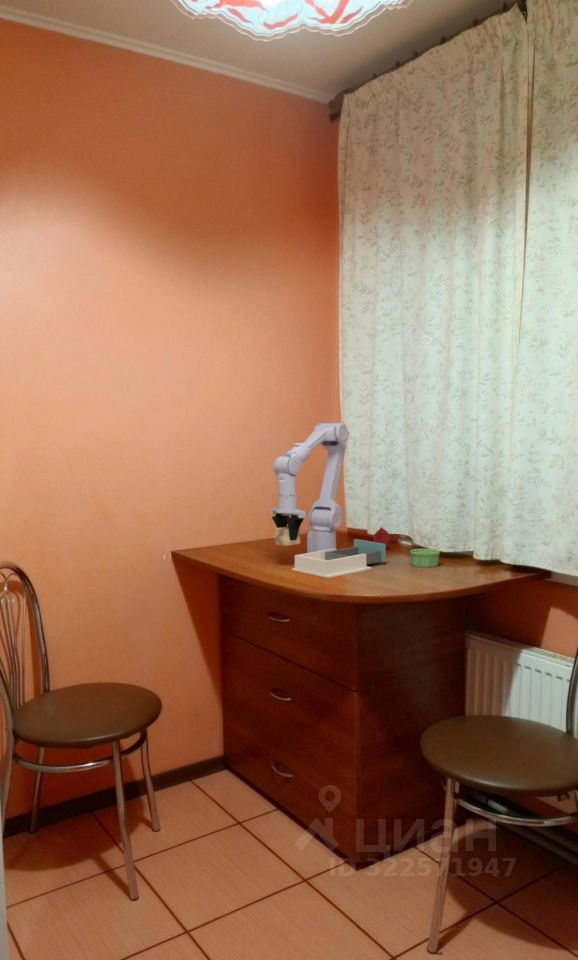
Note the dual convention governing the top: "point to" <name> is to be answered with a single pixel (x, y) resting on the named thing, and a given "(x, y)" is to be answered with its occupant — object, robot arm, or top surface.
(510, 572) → the top surface
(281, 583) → the top surface
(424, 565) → the ramekin
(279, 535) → the block
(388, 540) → the onion
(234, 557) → the top surface
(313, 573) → the housing
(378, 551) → the tray
